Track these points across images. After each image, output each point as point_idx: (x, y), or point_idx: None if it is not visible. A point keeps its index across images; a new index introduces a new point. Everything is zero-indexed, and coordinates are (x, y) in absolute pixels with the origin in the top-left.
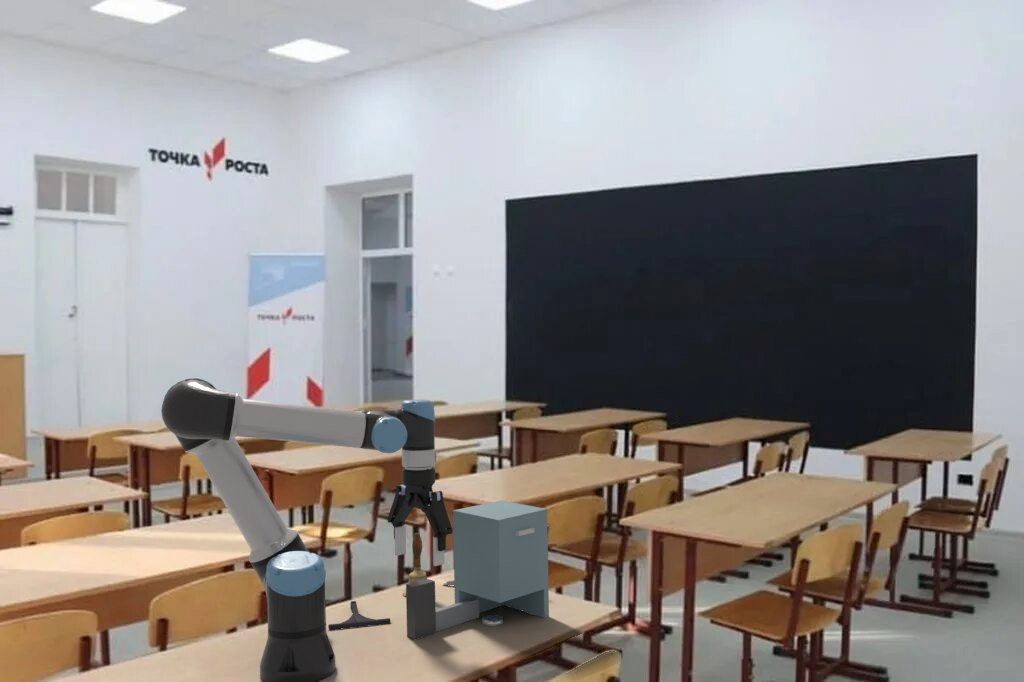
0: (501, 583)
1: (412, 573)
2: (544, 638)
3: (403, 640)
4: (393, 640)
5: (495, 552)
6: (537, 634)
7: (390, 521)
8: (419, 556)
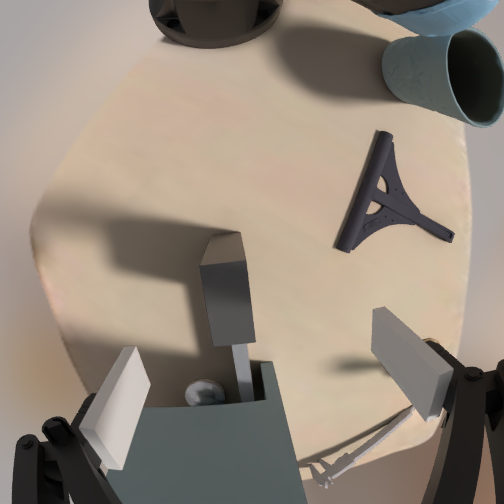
0: None
1: None
2: None
3: (225, 214)
4: (240, 197)
5: (115, 488)
6: None
7: (498, 369)
8: None
